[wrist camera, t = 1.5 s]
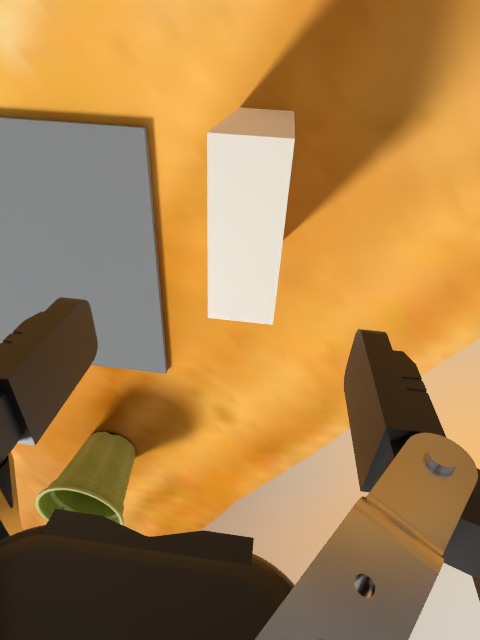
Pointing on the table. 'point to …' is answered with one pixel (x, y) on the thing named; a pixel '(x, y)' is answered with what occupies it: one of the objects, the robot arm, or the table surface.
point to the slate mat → (82, 233)
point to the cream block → (247, 211)
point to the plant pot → (92, 479)
